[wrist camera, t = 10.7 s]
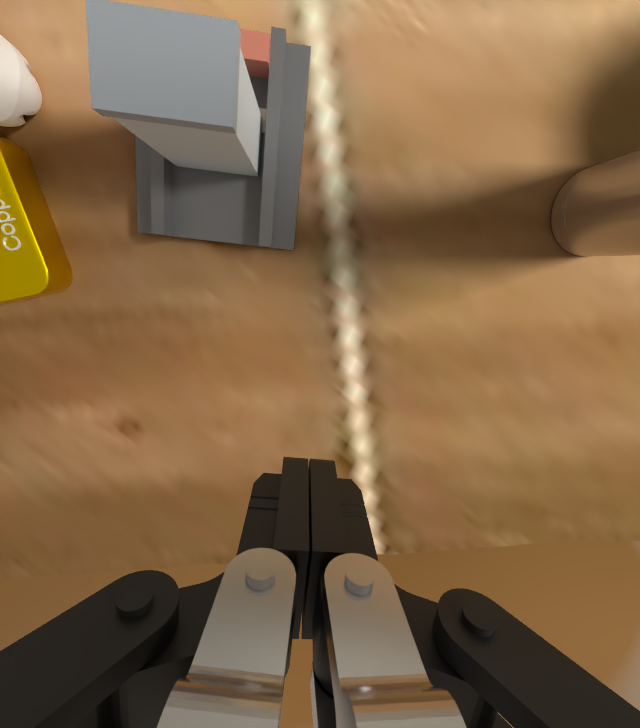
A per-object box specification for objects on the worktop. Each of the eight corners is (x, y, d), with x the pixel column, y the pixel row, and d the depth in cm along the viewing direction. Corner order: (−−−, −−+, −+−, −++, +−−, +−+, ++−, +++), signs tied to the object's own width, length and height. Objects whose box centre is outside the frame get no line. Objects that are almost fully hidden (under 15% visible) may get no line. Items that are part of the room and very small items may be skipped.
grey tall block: (264, 117, 34) (236, 20, 21) (260, 179, 36) (232, 127, 22) (174, 104, 34) (85, -3, 20) (174, 168, 35) (91, 108, 22)
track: (310, 55, 35) (311, 25, 30) (293, 250, 39) (292, 248, 35) (139, 29, 33) (114, -5, 29) (143, 233, 38) (123, 229, 34)
